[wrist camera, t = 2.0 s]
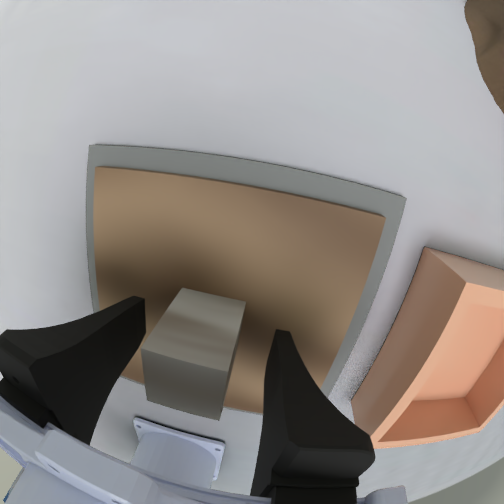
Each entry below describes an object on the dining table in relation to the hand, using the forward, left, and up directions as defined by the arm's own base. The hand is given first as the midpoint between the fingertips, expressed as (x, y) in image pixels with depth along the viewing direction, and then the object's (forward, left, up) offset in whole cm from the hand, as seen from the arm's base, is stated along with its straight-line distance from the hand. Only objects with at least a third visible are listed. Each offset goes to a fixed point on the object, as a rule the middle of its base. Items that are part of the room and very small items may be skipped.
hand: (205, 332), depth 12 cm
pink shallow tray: (0, -15, -2) cm, 15 cm away
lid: (0, 0, -2) cm, 2 cm away
